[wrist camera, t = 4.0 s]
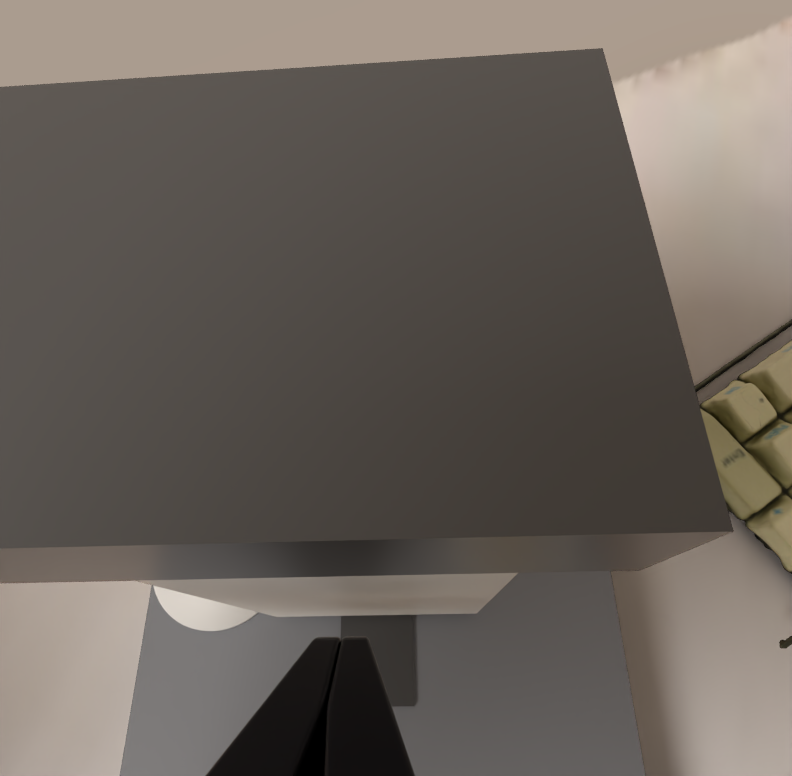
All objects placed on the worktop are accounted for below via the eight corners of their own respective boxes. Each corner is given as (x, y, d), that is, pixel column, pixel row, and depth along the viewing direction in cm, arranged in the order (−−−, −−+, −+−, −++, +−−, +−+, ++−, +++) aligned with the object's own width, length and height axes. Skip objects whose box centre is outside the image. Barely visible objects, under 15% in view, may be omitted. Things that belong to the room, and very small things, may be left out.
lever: (494, 631, 14) (735, 531, 3) (259, 634, 14) (-348, 554, 3) (482, 479, 15) (603, 49, 4) (272, 485, 16) (-95, 93, 5)
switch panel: (695, 1207, 11) (739, 1301, 9) (85, 1186, 11) (29, 1272, 10) (552, 308, 20) (562, 278, 18) (215, 322, 20) (197, 294, 19)
